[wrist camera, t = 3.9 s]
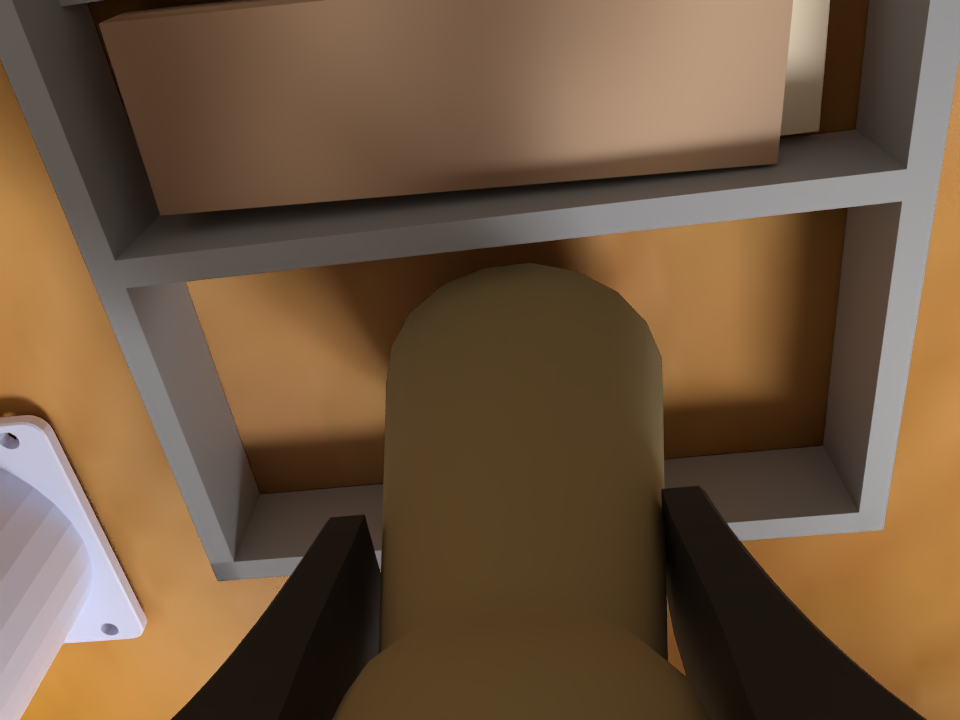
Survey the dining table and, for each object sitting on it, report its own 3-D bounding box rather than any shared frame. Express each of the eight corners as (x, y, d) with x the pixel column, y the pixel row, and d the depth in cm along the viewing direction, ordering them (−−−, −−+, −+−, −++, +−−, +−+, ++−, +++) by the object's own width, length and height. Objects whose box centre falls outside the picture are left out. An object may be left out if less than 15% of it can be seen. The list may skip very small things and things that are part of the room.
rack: (244, 512, 23) (217, 581, 20) (43, -31, 16) (-30, -14, 13) (845, 461, 21) (883, 529, 19) (921, -165, 14) (995, -168, 12)
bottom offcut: (207, 185, 19) (190, 204, 17) (154, 14, 17) (131, 25, 16) (800, 114, 17) (819, 131, 16) (814, -77, 15) (836, -72, 14)
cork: (344, 303, 17) (127, 855, 8) (633, 229, 16) (784, 776, 7) (436, 514, 20) (359, 1094, 11) (685, 465, 19) (839, 1068, 10)
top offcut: (181, 193, 17) (160, 215, 16) (124, 11, 15) (98, 23, 14) (760, 143, 16) (777, 163, 15) (777, -56, 15) (797, -48, 14)
